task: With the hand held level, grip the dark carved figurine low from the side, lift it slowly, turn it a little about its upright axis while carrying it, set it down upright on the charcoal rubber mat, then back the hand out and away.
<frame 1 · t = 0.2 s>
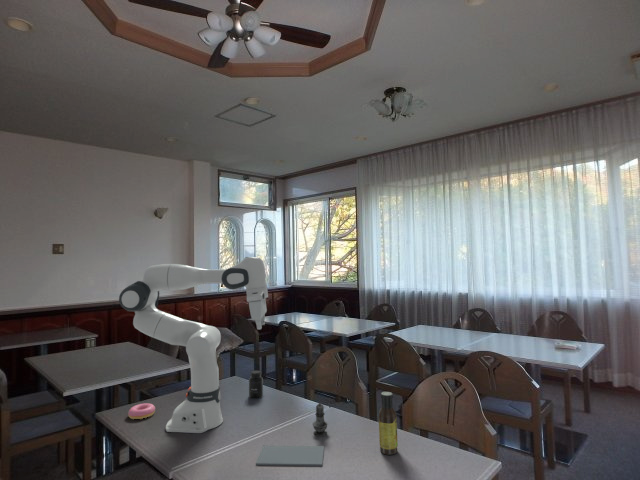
hand: (261, 327, 165), 39 cm above the table, tool pointing down, fingers open, 8 cm apart
sauce bottle: (388, 451, 137), on the table
mat: (291, 456, 135), on the table
doughnut: (141, 416, 172), on the table
supplement bottle: (256, 396, 191), on the table
dark carved figurine: (320, 433, 151), on the table
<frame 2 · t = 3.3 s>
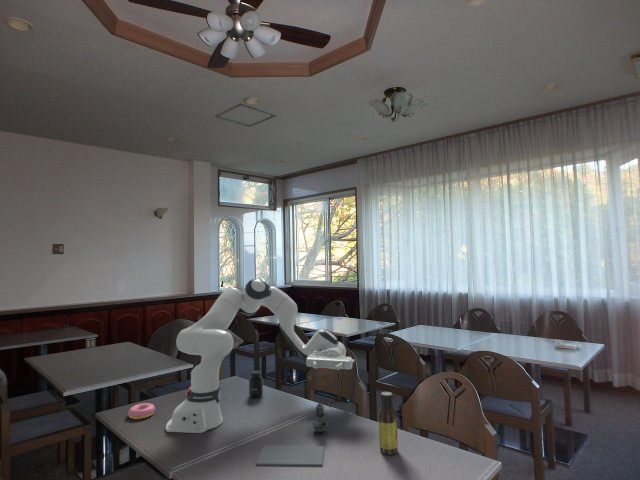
hand: (325, 367, 164), 22 cm above the table, tool horizontal, fingers open, 8 cm apart
nothing on the table moved.
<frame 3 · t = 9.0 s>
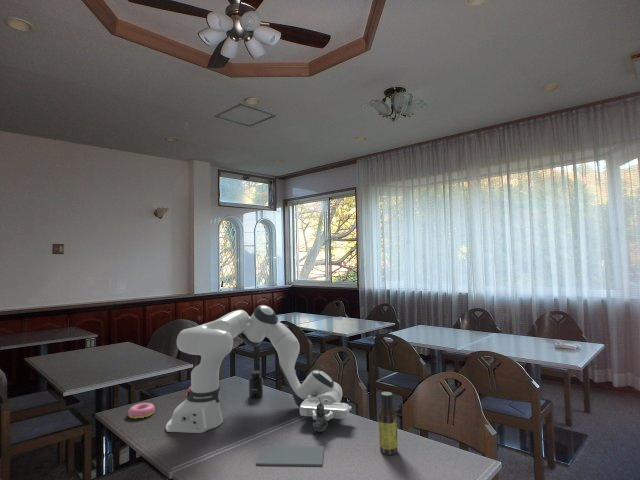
hand: (320, 418, 152), 6 cm above the table, tool horizontal, fingers closed on dark carved figurine, 3 cm apart
dark carved figurine: (320, 433, 151), on the table, touching gripper
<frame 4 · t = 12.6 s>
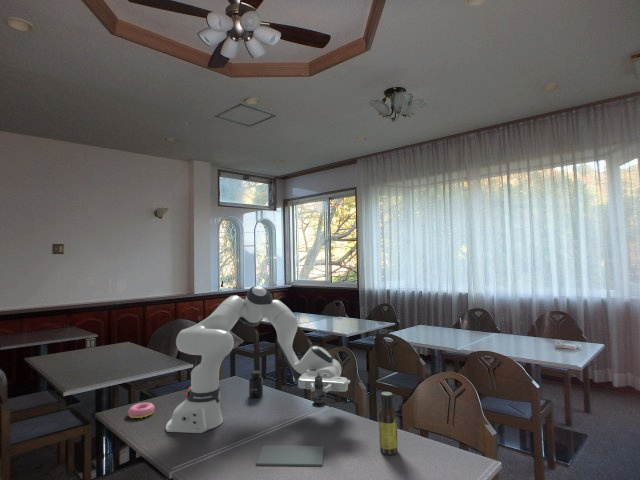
hand: (318, 390, 151), 17 cm above the table, tool horizontal, fingers closed on dark carved figurine, 3 cm apart
dark carved figurine: (318, 405, 151), point 11 cm above the table, touching gripper
when the fingers open (7 cm above the table, at t = 17.9 s): dark carved figurine moves 2 cm, point 1 cm above the table.
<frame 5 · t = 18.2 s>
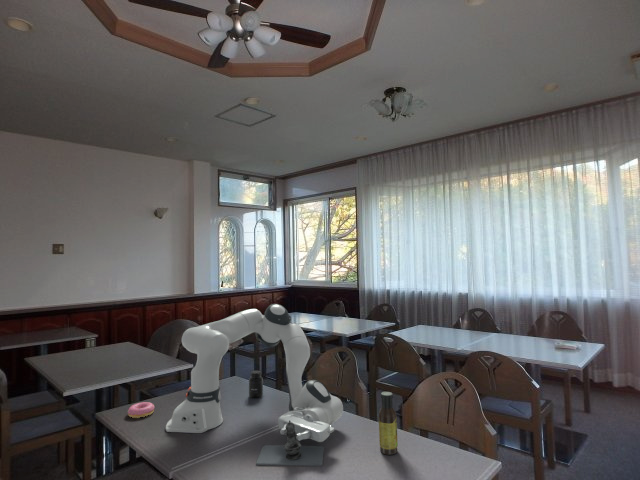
hand: (289, 435, 134), 7 cm above the table, tool horizontal, fingers open, 5 cm apart
dark carved figurine: (293, 456, 133), point 1 cm above the table, touching gripper
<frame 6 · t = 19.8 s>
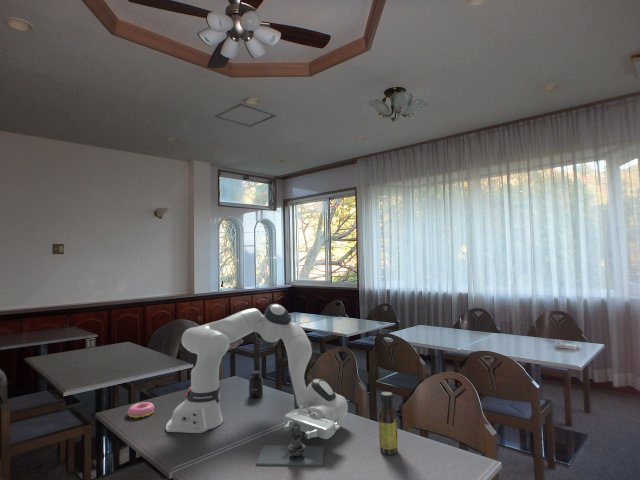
hand: (295, 432, 136), 7 cm above the table, tool horizontal, fingers open, 8 cm apart
dark carved figurine: (296, 458, 132), resting on mat
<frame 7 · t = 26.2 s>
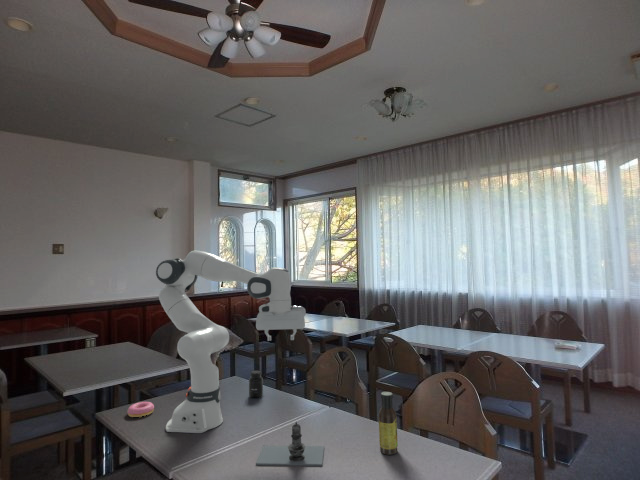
hand: (280, 340, 161), 34 cm above the table, tool pointing down, fingers open, 8 cm apart
at the end: dark carved figurine inside the target area on the mat (3.1 cm from its centre), point 0.4 cm above the mat's base; dark carved figurine tilted 0°; the gripper is holding nothing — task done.
